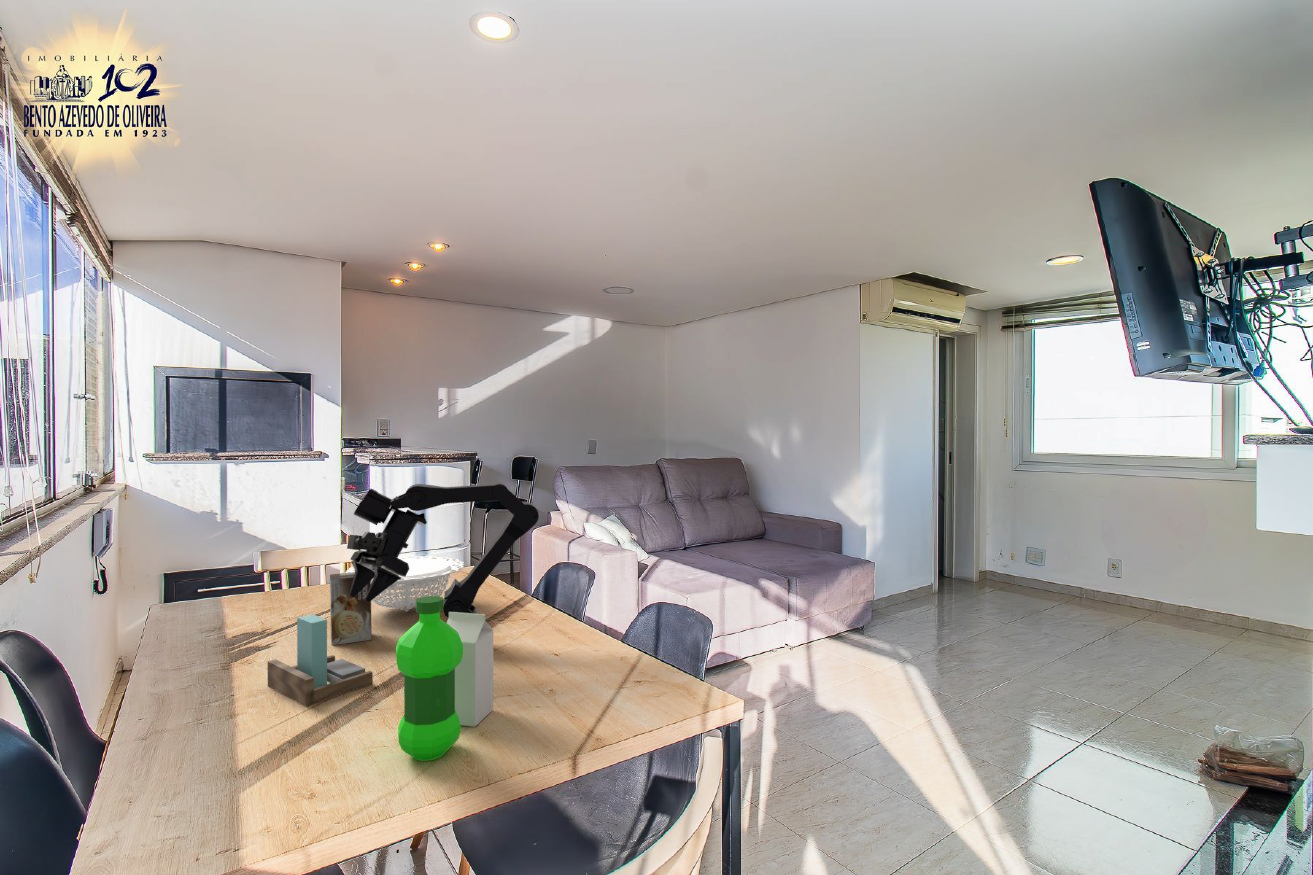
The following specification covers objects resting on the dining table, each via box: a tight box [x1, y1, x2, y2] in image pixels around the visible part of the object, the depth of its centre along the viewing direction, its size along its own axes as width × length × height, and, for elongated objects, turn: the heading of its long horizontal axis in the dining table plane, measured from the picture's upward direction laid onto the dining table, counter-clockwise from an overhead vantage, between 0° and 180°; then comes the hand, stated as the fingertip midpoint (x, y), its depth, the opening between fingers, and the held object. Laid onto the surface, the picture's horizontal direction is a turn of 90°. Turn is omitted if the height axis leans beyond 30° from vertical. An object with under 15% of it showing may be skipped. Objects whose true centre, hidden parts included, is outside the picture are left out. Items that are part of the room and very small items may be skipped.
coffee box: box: [329, 572, 373, 646], centre depth 160 cm, size 9×6×16 cm
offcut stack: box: [327, 658, 366, 684], centre depth 135 cm, size 11×5×2 cm, turn 54°
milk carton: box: [446, 612, 494, 727], centre depth 118 cm, size 7×7×19 cm
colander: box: [345, 555, 465, 613], centre depth 183 cm, size 32×32×13 cm
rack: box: [267, 654, 374, 707], centre depth 132 cm, size 16×13×5 cm
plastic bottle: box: [395, 595, 463, 762], centre depth 105 cm, size 10×10×25 cm
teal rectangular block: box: [296, 614, 328, 689], centre depth 130 cm, size 6×3×14 cm, turn 54°
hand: (359, 598), depth 141 cm, fingers open, 9 cm apart
